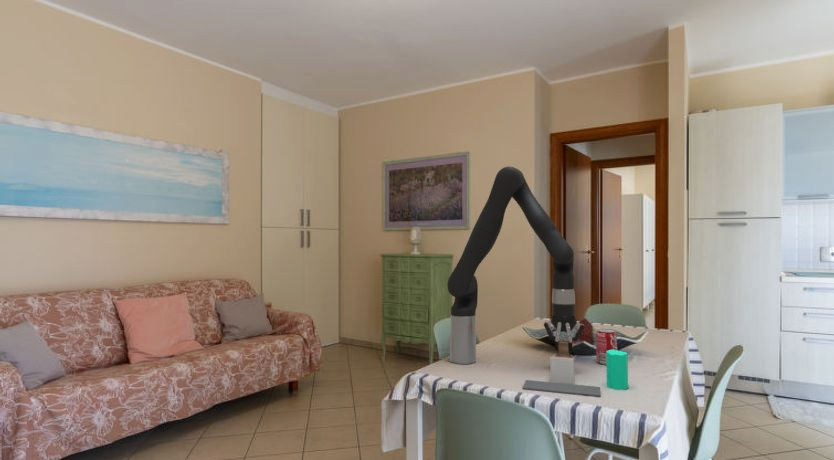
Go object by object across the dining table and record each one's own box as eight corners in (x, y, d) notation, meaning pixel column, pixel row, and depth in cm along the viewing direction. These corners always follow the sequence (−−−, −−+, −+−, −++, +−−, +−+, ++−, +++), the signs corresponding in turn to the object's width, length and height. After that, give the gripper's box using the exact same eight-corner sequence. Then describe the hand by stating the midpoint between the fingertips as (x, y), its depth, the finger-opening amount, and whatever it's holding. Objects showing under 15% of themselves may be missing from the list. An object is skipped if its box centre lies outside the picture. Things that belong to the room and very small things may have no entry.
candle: (603, 383, 146) (602, 345, 146) (621, 383, 147) (621, 344, 147) (612, 390, 140) (612, 349, 140) (631, 389, 141) (631, 349, 141)
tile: (550, 383, 147) (550, 357, 147) (551, 381, 149) (550, 356, 149) (574, 385, 145) (573, 359, 145) (574, 383, 147) (573, 357, 147)
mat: (522, 389, 141) (522, 387, 141) (525, 381, 149) (525, 379, 149) (600, 397, 134) (600, 395, 134) (600, 388, 141) (600, 386, 142)
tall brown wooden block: (556, 351, 168) (556, 338, 168) (573, 352, 166) (573, 339, 166) (552, 358, 150) (552, 344, 151) (572, 360, 148) (572, 345, 149)
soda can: (616, 361, 172) (616, 329, 173) (618, 366, 166) (617, 332, 166) (596, 360, 175) (595, 327, 175) (596, 365, 168) (596, 331, 168)
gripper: (541, 302, 159) (542, 353, 159) (585, 304, 154) (585, 356, 154) (543, 299, 166) (543, 348, 166) (585, 301, 161) (585, 351, 161)
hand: (564, 352), depth 160 cm, fingers closed on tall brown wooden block, 2 cm apart
